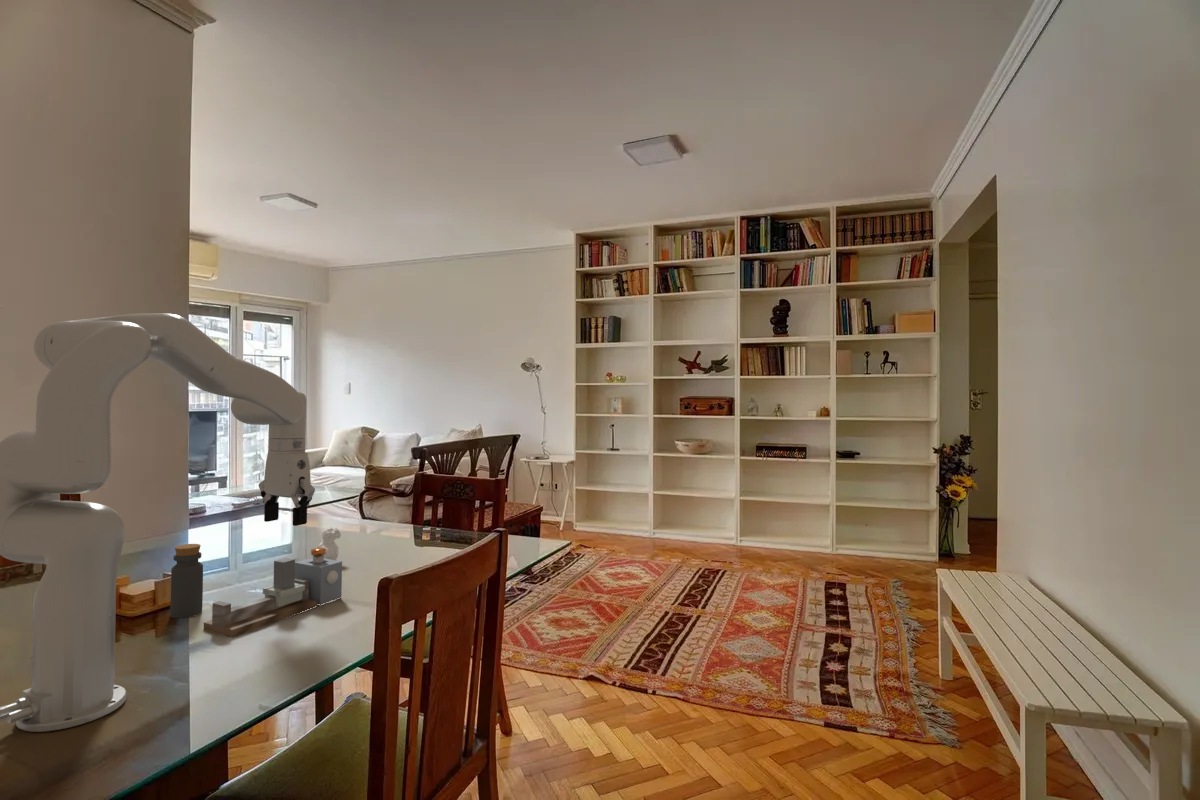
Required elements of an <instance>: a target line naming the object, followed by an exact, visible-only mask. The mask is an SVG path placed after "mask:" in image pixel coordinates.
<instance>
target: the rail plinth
mask: <svg viewBox="0 0 1200 800" xmlns="http://www.w3.org/2000/svg"><path fill="white" fill-rule="evenodd" d="M295 583H297V584H302V585H305V590H304V591H303V597H302V599H301V600H298V601H295V602H292V603H289V604H286V605H283V606H280V607H277V606H276V597H275V596H269V597H265V596H264V597H262V598H259V599H256V600H253V601H249V602H246V603H243V604H240V605H237V606H233V607H232V603H229V602H225V601H221V600H219V601H215V602H212V611H211V612H212V614H211V620H207V621H204V622H203V630H204V631H206V632H209V633H210V632H211V633H215V634H218V635H222V636H225V637H228V638H235V637H238V636H240V635H243V634H245V633H249V632H252V631H254V630H257V629H260V628H263V627H266V626H268V625H272V624H274V623H277V622H279V621H283V620H285V618H286V619H288V618H287V617H289V618H291V617H293V616H292V615H294V614H297V613H300V612H302V611H305V610H307V609H310V608H313V607H315V606H317V601H314V600H310V599H309V580H305V579H300V578H297V579H295ZM300 614H301V613H300ZM297 615H298V614H297ZM290 616H291V617H290ZM294 616H295V615H294Z"/></svg>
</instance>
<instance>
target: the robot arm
mask: <svg viewBox="0 0 1200 800" xmlns="http://www.w3.org/2000/svg"><path fill="white" fill-rule="evenodd" d="M33 342H34V343H33V348H34V349H33V350H34V354H35V356H36V359H38V362H40V363H41V364H42V365H43V366H44V367H45V368H48V370H49V371H48V372H47V374H46V376H44V378H43V380H42V382H41V384H40V387H39V390H38V393H37V397H36V411H35V413H36V414H35V429H28V430H27V429H26V430H23V431H22V430H21V431H18V432H14V433H11V434H10V435H8V436H7V437H5V438H3V439H2V440H0V556H1V557H3V558H4V559H7V560H9V561H14V562H19V563H29V564H39V565H40V564H41V565H46V566H45V571H44V572H43V575H42V577H41V579H40V580H39V582H38V584H37V586H36V589H35V591H34V594H33V595H34V597H33V601H32V603H33V604H32V642H31V643H32V644H31V651H32V652H31V659H32V660H31V687H30V688H27V689H24V690H23V689H22V696H21V697H19V698H16V699H15V700H14V702H12V703H9V704H5V705H1V706H0V722H2V721H4V720H6V722H7V723H8V724H12V723H14V722H15V723H16V727H17V728H18V729H20V730H21V731H24V732H32V733H33V732H34V733H35V732H37V733H41V732H42V733H43V732H51V731H58V730H64V729H70V728H74V727H78V726H80V725H83V724H87V723H89V722H93V721H95V720H97V719H100V718H102V717H104V716H106V715H108V714H111V713H112V712H114V711H115V710H117V709H118V708H120V707H121V706H122V705H123V704H124V703H125V701H126V699H127V689H126V688H125V687H124V686H121V685H118V684H115V659H116V649H115V648H116V615H117V611H116V608H117V604H116V603H117V602H116V600H117V597H116V596H117V594H116V593H117V580H118V579H117V578H118V576H117V575H118V571H119V569H118V568H119V563H120V560H121V559H120V558H121V554H122V551H123V550H122V549H123V547H124V542H125V539H126V525H125V521H124V519H123V517H122V516H121V514H119V512H117V511H116V510H115V509H113V508H112V507H110V506H109V505H105V504H101V503H98V502H92V501H79V500H78V501H77V500H75V501H74V500H61V494H62V495H64V494H65V495H71V494H72V495H74V494H77V495H78V494H86V493H90V492H94V491H96V490H98V489H100V488H101V487H102V486H105V484H106V482H108V479H109V478H110V474H111V471H112V436H111V435H112V434H111V430H112V427H111V409H112V408H111V407H112V402H113V401H112V400H113V398H114V394H115V392H116V391H117V389H118V387H119V386H120V385H121V383H122V382H123V381H125V380H126V378H128V377H129V376H130V375H131V374H133V372H134V371H136V370H138V369H140V367H142V366H143V365H144V364H145V363H146V362H158V363H161V364H162V365H164V366H166V368H168V369H169V370H171V371H173V372H174V373H176V374H177V375H179V376H180V377H182V378H183V379H185V380H186V381H187V382H189V383H190V384H192V386H194V387H195V388H197V389H199V390H201V391H203V392H207V393H210V394H213V395H217V396H221V397H226V398H232V401H231V403H230V411H231V414H232V416H233V417H234V418H235V419H236V420H237V421H239V422H241V423H242V424H247V425H261V426H263V425H264V426H265V425H268V430H267V431H268V439H267V440H268V441H267V444H268V445H267V454H266V461H265V467H264V468H265V469H264V477H263V480H262V481H261V482H259V483H258V489H259V490H260V496H261V498H262V503H263V504H264V511H263V513H264V514H263V521H264V522H265V523H266V522H267V523H269V522H273V521H278V520H279V515H280V514H279V512H280V504H279V503H280V502H279V501H278V500H279V499H280V498H289V499H291V500H292V502H293V503H292V504H293V505H294V507H293V509H292V525H293V526H295V527H297V526H302V525H306V524H308V523H307V522H308V507H309V506H310V503H311V501H312V500H313V497H314V494H315V492H316V489H315V487H314V486H313V485H312V483H311V482H312V481H311V480H312V479H311V468H310V467H311V466H310V459H309V453H308V452H306V440H307V439H306V436H307V432H306V431H307V396H306V395H305V393H303V392H300V391H297V389H296V388H294V386H292V384H290V383H289V382H288V381H286V380H285V379H283V378H282V377H281V376H279V375H277V374H276V373H273V372H272V371H270V370H267V369H265V368H262V367H260V366H257V365H255V364H253V363H251V362H248V361H246V360H244V359H242V358H238V357H237V356H234V355H232V354H231V353H230V352H228V351H227V350H225V348H223V347H222V346H221V345H219V344H218V343H217V342H216V341H214V340H213V339H212V338H211V337H209V336H208V335H207V334H206V333H204V332H203V331H202V330H201V329H200V328H198V326H196V325H195V324H193V322H190V320H188V319H187V318H185V317H182V316H181V315H178V314H174V313H166V312H165V313H164V312H162V313H160V312H159V313H158V312H156V313H127V314H126V313H125V314H119V315H111V316H103V317H94V318H92V317H91V318H84V319H81V318H80V319H74V320H64V321H63V320H61V321H56V322H53V323H50V324H48V325H46V326H45V327H43V328H42V329H41V330H40V331H39V332H38V333H37V335H36V337H35V338H34V341H33ZM299 498H300V499H299Z"/></svg>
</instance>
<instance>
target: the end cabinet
mask: <svg viewBox="0 0 1200 800" xmlns="http://www.w3.org/2000/svg"><path fill="white" fill-rule="evenodd" d="M297 578H300V579H305V580H309V599H310V600H314V601H317V604H320V605H321V604H323V603H326V602H329V601H331V600H335V599H337V598H340V597H341V598H342V585H343V583H342V582H343V581H342V580H343V579H342V578H343V561H341V560H338V559H336V560H331V559H325V558H324V563H321V564H313V557H310V558H306V559H302V560H299V561H295V579H297Z"/></svg>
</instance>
